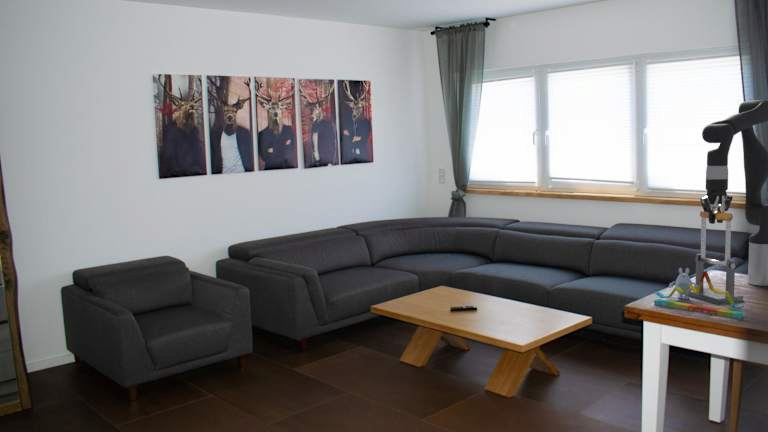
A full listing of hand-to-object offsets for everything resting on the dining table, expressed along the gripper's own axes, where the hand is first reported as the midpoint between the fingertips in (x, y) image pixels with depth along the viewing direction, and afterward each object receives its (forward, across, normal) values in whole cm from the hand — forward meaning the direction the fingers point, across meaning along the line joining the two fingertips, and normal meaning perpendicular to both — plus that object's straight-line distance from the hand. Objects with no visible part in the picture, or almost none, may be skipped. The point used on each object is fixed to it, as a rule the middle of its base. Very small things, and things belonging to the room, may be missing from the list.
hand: (715, 222), depth 259 cm
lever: (+15, 0, 0) cm, 15 cm away
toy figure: (+29, +10, -5) cm, 31 cm away
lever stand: (+29, 0, 0) cm, 29 cm away
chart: (+30, +19, +11) cm, 37 cm away
